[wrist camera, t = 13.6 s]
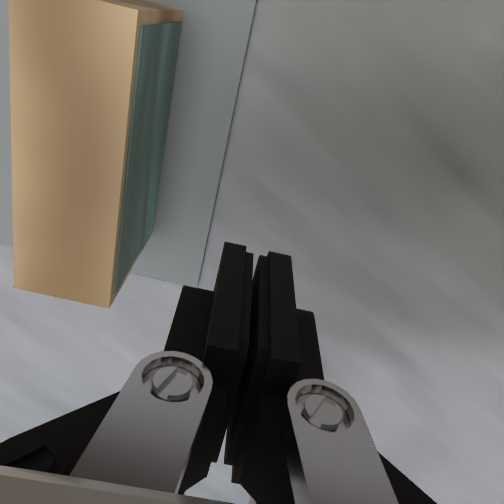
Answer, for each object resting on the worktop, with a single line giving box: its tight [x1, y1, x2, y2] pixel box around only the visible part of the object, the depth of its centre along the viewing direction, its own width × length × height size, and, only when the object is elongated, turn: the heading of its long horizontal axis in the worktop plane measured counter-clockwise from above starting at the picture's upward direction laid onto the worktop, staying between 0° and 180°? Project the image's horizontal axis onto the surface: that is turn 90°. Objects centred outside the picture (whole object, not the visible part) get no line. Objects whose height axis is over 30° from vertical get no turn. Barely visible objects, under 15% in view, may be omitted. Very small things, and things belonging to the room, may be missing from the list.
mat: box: [0, 0, 257, 288], centre depth 21 cm, size 15×14×1 cm
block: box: [8, 0, 183, 308], centre depth 18 cm, size 4×10×6 cm, turn 167°
